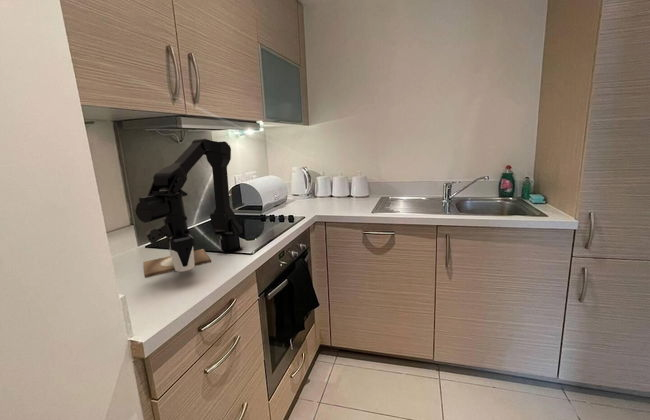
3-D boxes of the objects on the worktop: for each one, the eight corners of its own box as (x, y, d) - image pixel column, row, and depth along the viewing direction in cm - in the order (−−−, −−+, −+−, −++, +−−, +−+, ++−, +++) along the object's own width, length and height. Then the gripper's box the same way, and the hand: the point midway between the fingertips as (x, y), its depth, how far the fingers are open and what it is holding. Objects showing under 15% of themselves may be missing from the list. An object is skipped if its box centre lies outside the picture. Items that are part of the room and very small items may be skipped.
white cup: (168, 270, 99) (164, 248, 98) (188, 262, 105) (184, 241, 103) (181, 273, 95) (177, 251, 94) (201, 265, 101) (197, 244, 99)
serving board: (203, 251, 123) (203, 248, 122) (211, 261, 111) (210, 258, 110) (143, 264, 113) (143, 261, 113) (145, 277, 101) (144, 274, 101)
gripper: (142, 213, 100) (152, 261, 104) (145, 225, 84) (156, 280, 88) (181, 207, 106) (189, 252, 109) (190, 217, 90) (199, 269, 93)
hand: (183, 263), depth 100 cm, fingers closed on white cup, 6 cm apart
